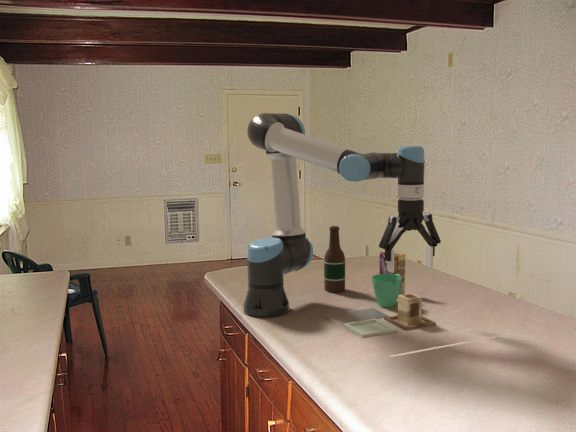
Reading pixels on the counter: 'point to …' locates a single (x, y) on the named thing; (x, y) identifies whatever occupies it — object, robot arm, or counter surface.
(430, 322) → the tray walnut
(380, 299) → the mug
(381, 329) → the tray sage
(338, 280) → the beer bottle
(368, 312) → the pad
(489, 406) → the counter surface
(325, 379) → the counter surface
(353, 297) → the counter surface
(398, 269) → the candy box
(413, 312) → the letter block
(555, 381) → the counter surface
